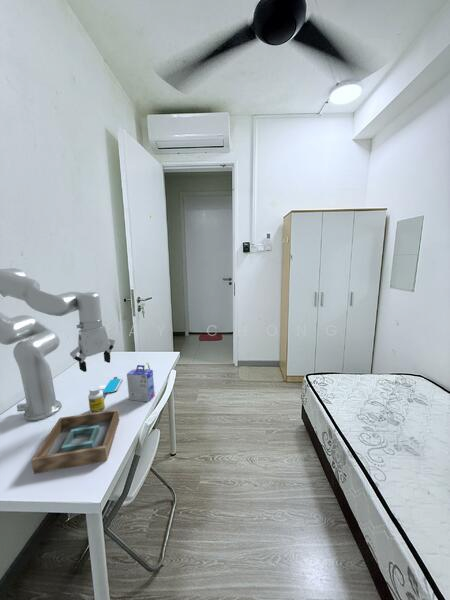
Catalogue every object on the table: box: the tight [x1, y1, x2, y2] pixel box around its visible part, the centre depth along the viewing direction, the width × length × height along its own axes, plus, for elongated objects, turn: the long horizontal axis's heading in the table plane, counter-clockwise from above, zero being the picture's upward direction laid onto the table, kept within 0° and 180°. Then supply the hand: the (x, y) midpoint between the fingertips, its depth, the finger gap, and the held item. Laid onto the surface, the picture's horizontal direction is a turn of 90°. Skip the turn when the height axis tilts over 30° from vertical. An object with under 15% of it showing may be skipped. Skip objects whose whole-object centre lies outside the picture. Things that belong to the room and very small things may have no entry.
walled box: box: [31, 409, 120, 475], centre depth 86 cm, size 20×20×4 cm
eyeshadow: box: [144, 361, 151, 370], centre depth 138 cm, size 4×5×5 cm
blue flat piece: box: [99, 376, 124, 399], centre depth 123 cm, size 20×12×2 cm, turn 7°
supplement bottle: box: [87, 385, 106, 413], centre depth 104 cm, size 5×5×10 cm
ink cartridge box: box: [126, 364, 156, 402], centre depth 112 cm, size 10×6×14 cm, turn 78°
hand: (96, 366), depth 102 cm, fingers open, 9 cm apart
